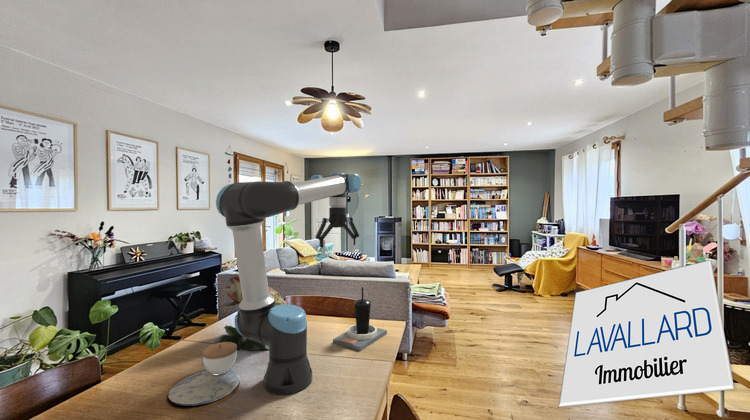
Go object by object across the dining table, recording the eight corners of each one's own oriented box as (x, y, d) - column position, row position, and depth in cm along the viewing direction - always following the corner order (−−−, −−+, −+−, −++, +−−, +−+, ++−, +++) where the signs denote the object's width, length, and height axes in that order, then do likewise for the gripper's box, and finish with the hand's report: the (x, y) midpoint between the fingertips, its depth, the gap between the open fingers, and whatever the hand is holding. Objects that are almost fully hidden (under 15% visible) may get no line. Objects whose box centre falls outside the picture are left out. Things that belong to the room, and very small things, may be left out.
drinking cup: (372, 330, 141) (372, 285, 141) (370, 337, 134) (370, 289, 133) (355, 329, 142) (355, 284, 142) (352, 336, 134) (352, 289, 134)
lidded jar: (199, 381, 104) (198, 352, 104) (207, 365, 114) (206, 339, 114) (234, 376, 107) (234, 348, 107) (239, 361, 117) (239, 335, 117)
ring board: (360, 351, 125) (360, 342, 125) (332, 342, 132) (332, 334, 132) (387, 333, 142) (387, 325, 141) (361, 327, 149) (361, 319, 149)
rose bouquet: (281, 351, 125) (280, 274, 125) (206, 351, 125) (205, 274, 125) (297, 326, 151) (297, 262, 150) (235, 326, 151) (234, 263, 150)
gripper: (359, 206, 154) (359, 250, 155) (308, 207, 143) (308, 254, 143) (366, 206, 148) (366, 252, 148) (312, 207, 136) (313, 256, 137)
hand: (337, 253), depth 146 cm, fingers open, 13 cm apart
